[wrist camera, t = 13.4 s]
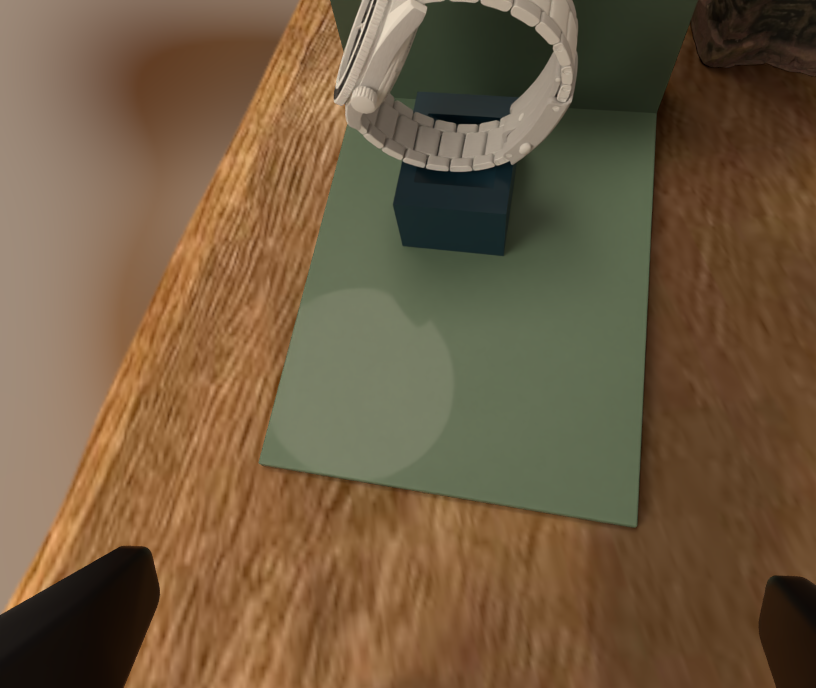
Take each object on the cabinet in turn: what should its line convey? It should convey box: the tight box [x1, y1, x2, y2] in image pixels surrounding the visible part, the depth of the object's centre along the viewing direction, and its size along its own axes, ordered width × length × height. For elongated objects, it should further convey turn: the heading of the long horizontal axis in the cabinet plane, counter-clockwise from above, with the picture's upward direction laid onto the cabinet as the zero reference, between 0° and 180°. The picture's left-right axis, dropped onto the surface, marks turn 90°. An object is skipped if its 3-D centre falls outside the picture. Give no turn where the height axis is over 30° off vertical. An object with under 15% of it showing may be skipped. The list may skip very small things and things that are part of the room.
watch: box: [334, 0, 578, 256], centre depth 22 cm, size 6×8×11 cm
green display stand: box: [259, 0, 698, 528], centre depth 22 cm, size 20×14×8 cm
